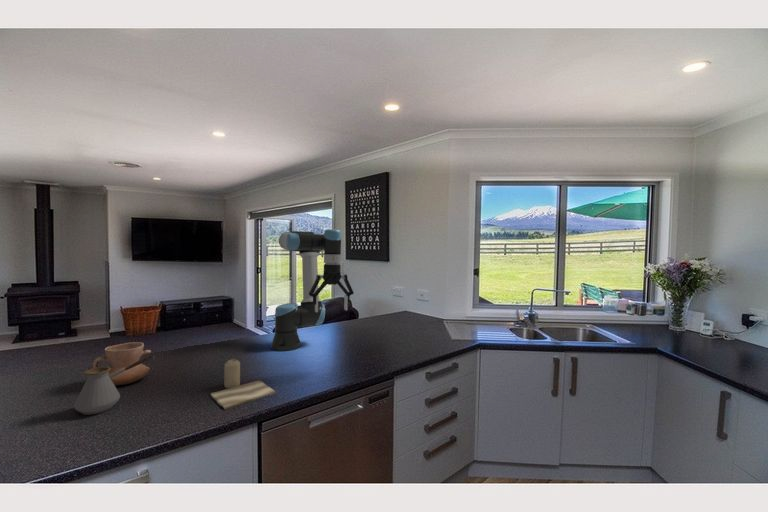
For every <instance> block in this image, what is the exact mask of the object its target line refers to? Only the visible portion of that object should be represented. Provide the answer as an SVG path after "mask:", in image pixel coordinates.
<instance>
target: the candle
mask: <svg viewBox="0 0 768 512" xmlns="http://www.w3.org/2000/svg"><path fill="white" fill-rule="evenodd" d="M223 374H224V380H223V381H224V382H223V383H224V384H223V385H224V388H225V389H229V388H232V387H236V386H240V385H241V362H240V361H239V360H238V359H236V358H235V359H234V358H231V359H230V360H229V359H228V360H227V361H226V362H225V364H224V371H223Z"/></svg>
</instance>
